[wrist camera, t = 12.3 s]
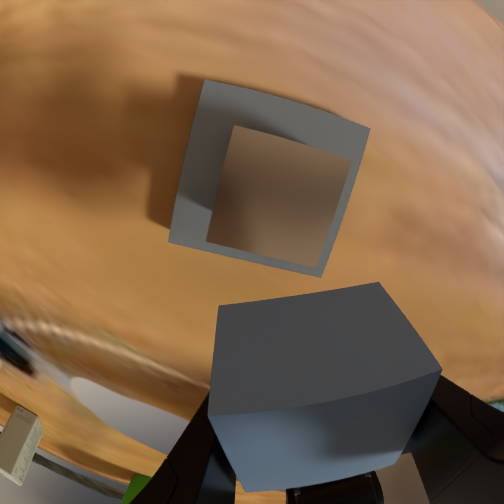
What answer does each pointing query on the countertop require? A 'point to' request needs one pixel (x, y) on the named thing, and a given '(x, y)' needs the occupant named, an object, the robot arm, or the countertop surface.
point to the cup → (135, 487)
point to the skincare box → (19, 443)
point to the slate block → (317, 386)
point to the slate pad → (215, 149)
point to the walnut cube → (276, 197)
